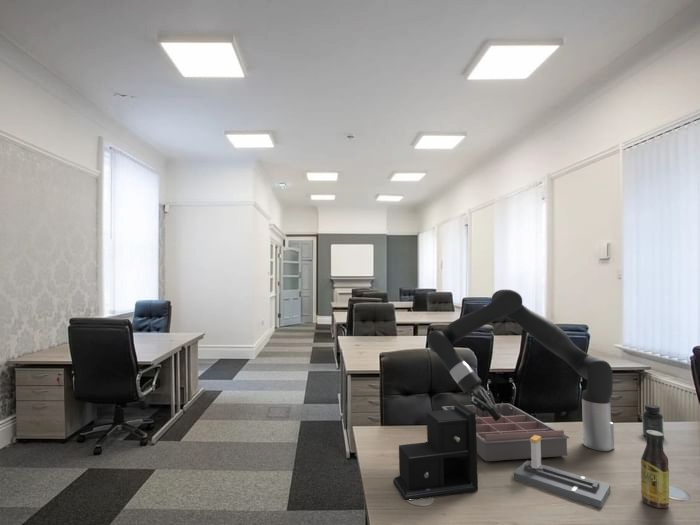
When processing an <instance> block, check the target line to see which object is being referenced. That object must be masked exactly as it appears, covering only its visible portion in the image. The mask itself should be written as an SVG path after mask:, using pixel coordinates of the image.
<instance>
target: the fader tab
mask: <svg viewBox="0 0 700 525" xmlns="http://www.w3.org/2000/svg"><path fill="white" fill-rule="evenodd" d="M540 440H541V436H538V435H534V436H533V437H531V438H530V442H531V458H530V459H531V460H530V461H531V464H530V467H531V468H534V469H537V470H541V471H543V467H540V466H541V464H542V457H541V441H540Z"/></svg>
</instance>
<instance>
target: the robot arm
mask: <svg viewBox="0 0 700 525" xmlns="http://www.w3.org/2000/svg"><path fill="white" fill-rule="evenodd" d="M503 317H507V318H509V319H510V320H511V321H513V322H514V323H516V324H518V326H520V328H522V329H523V330H524V331H525V332H526V333H527V334H529V335H530V336H531V338H533V339H534V340H536V341H537V343H539V344H541V345H542V346H543V347H544V348H545V349H547V350H549V351H550V352H551V353H552V354H554V355H556V356H557V357H559V358H560V359H562V360H563V361H565V362H566V363H567V364H568V365H569V366H570V367H571V368H572V369H573V370H574V371H575V372H576V373H577V374H578V375H579V376H580V377H582V378H583V379H585V380H587V381H586V382H587V384H586V385H587V386H586V389H584V390H582V392H581V406H582V408H581V409H582V410H581V411H582V415H581V416H582V444H583V445H584V446H585V447H587V448H589V449H592V450H595V451H600V452H601V451H602V452H609V451H611V450H615V424H614V422H612V417H611V416H612V413H611V397H612V394H613V387H614V386H613V384H614V383H613V382H614V380H613V377H614V375H613V370H612V366H611V364H610V363H609V362H607V361H606V360H604V359H601V358H599V357H595V356H592V355H590V354H588V353H587V352H585V351H584V350H582V349H581V348H579V346H577V345H576V344H575V343H574V342H573V341H572V339H571V338H570V337H569V335H568V334H567V333H566V332H565V331H564V330H563V329H561V328H560V327H559V326H558V325H556V324H555V323H554V322H552V321H551V320H550V319H548V318H546V317H545V316H543V315H540V314H539V313H536V312H535V311H532V310H531V309H530V308H528V307H527V306H525V305H524V304H523V297H522V295H521V294H520V293H519V292H518V291H515V290H512V289H499V290H496V291H495V292H494V293H493V294H492V295H491V302H490V303H489V304H487V305H485V306H483V307H481V308H479V309H476V310H474V311H472V312H470V313H466V314H465V315H463V316H460V317H459V318H457V319H455V320H453V321H451V323H449V324H448V325H447V326H446V328H445V329H444V330H442V331H440V330H432V331H430V332H429V333H428V335H427V337H426V338H427V344H428V347H429V349H430V350H431V351H432V352H434V353H435V354H436V355H437V356H438V357H439V359H440V361H441V363H442V365H443V366H444V367H445V369H446V370H447V371H448V373H449V374H450V376H451V377H452V379H453V381H455V382H456V384H457V385H458V386H459V387H460V389H461V390H462V392H463V393H464V394H465V395H467V394H468V395H469V396H470V398H471V400H470V404H471V405H474V406H476V407H477V408H479V409H480V410H482V411H486V412H489V414H490V415H491V416H492V417H493V419H494V420H495V421H497V420H499V419H500V418H501V415H500V414H499V413H498V411H497V410H496V409H495V408H494V407H495V406H494V405H495V404H497V403H496V401H495V399H494V395H493V392H492V391H491V390H488V391H487V390H486V389H485V388H484V387H483V386H482V385H481V384H482V379H481V378H480V377H479V376H478V374H477V373H476V372H475V370H474V369H473V368H472V367H471V366H470V365H469V364H468V363H467V362H466V361H465V360H464V358H463V357H462V356H461V355H460V353H458V351H457V350H456V349H455V347H454V346H453V345H455V343H456V342H458V341H459V340H461V339H463V338H465V337H466V336H468V335H470V334H471V333H474V332H475V331H477V330H479V329H480V328H482V327H484V326H486V325H488V324H489V323H491V322H494V321H497V320H498V319H501V318H503Z"/></svg>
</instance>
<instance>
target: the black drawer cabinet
mask: <svg viewBox="0 0 700 525" xmlns="http://www.w3.org/2000/svg"><path fill="white" fill-rule="evenodd" d="M453 406H454V407H455V409H453V410H444V409H442V410H431V411H427V412H426V433H427V434H426V437H427V438H426V440H427V441H425V442H416V443H405V444H400V445H398V460H399V461H398V469H399V472H398V473H399V474H398V475H399V476H395V477H394V478H393V480H392V483H393V485H394V486H396V487H395V488H396V490H397V491H398V493H399V494H400V496H401V498H402V497H403V498H402V499H403V500H409V499H416V500H421V499H420V498H423V499H428V498H429V497H431V498H438V497H444V496H452V495H459V494H467V493H468V494H469V493H474V492H478V491H479V483H478V482H479V480H478V477H479V476H478V454H477V438H476V414H475V413H476V412H474V411H472V410H471V409H469V408H468V407H466V406H465V405H464V404H463V403H461V402H460V401H457V402H456V403H455V404H454V405H453ZM429 499H430V498H429ZM409 501H410V500H409Z"/></svg>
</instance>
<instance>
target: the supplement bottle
mask: <svg viewBox="0 0 700 525" xmlns="http://www.w3.org/2000/svg"><path fill="white" fill-rule="evenodd" d="M641 415H642V416H641V418H642V420H641V421H642V434H643V436H644V435H645V437H646V431H647V430H654V431H658V432H661V433H662V434H663V435H664V436H665V428H664V427H665V424H664V415H663V414H662V413H661V407H660V406H658V405H655V404H644V411H643V412H642V414H641Z"/></svg>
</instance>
